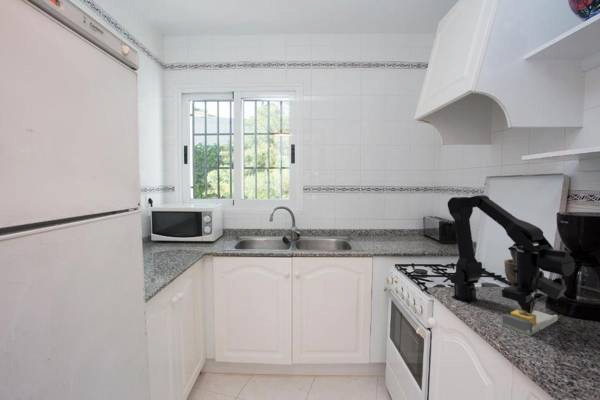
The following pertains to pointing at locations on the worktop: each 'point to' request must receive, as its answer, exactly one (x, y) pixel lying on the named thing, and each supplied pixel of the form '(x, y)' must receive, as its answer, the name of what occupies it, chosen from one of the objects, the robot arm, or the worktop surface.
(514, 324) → the rail
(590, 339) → the worktop surface
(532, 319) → the carriage
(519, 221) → the robot arm
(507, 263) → the mortar and pestle
